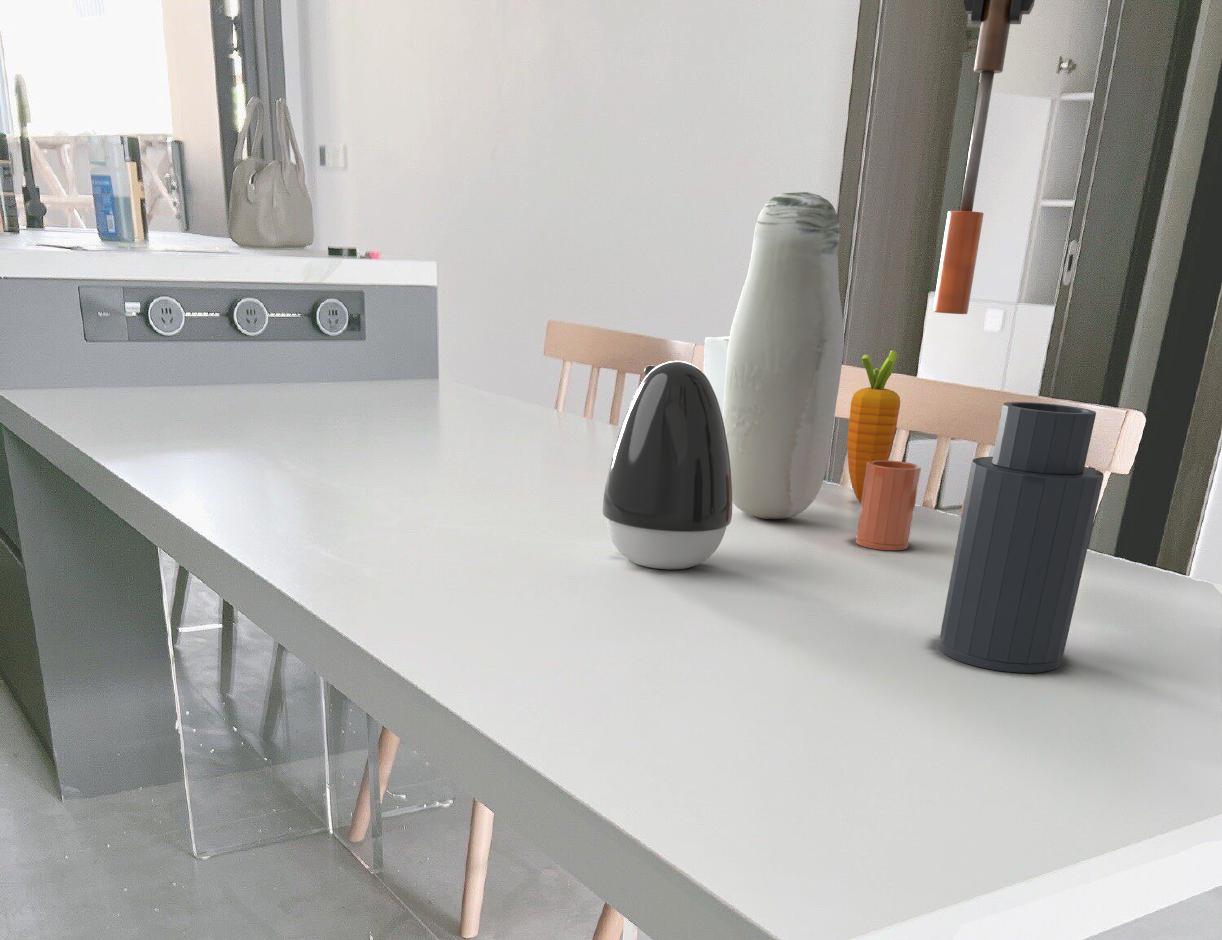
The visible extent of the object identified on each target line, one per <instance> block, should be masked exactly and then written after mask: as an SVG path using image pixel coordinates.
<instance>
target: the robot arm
mask: <svg viewBox="0 0 1222 940" xmlns="http://www.w3.org/2000/svg"><path fill="white" fill-rule="evenodd" d="M1035 1H1036V0H1012V3H1011V9H1010V16H1009V22H1010V25H1021V24H1022V20H1023V15H1030V14H1031V13H1032V10H1033V8H1034V6H1035ZM984 3H985V0H963V6H964V11H965V13H966V15H967V16H968V15H971V16H970V21H971V24H972V25H981V22H982V16H983V9H984Z"/></svg>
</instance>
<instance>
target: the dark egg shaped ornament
mask: <svg viewBox="0 0 1222 940" xmlns="http://www.w3.org/2000/svg"><path fill="white" fill-rule="evenodd" d="M643 375H644V379H643V380H642V382H641V384H640V385H639V387H638V388H637V390H636V392H635V393H634V395H633V397H632V398H631V399H632V400H631V401H630V404H629V405H628V408H627V410H626V413H625V415H624V419H623V420H622V424H621V427H620V430H619V433H618V435H617V438H616V441H615V445H614V448H613V452H612V455H611V459H610V463H609V468H608V472H607V477H606V481H605V487H604V493H603V498H602V511H601V512H602V515H603V516H604V517H605V520H606V528H607V531H608V535H609V537H610V539H611V542H612V544H613V545H614V547H615V548H616V550H617V551H618V552H619V553H620V554H621V556H623V557H624V558H625V559H627V560H628V561H630V562H632V563H634V564H635V565H638V566H642V567H644V568H645V567H646V568H650V569H658V570H685V569H689V568H692V567H695V566H698V565H700V564H702V563H704V562H705V561H707V560H708V559H709V558H710V557H711V556H712V555H713V554H715V552H716V551H717V549H718V548H719V546H720V544H722V543H721V542H722V541H723V539H724V537H725V533H726V529H727V527H728V526H729V525H730V524H731V523H732V517H733V502H732V479H731V466H730V457H729V450H728V444H727V438H726V432H725V427H724V422H723V417H722V414H721V410H720V406H719V403H718V400H717V397H716V395H715V392H714V390H713V388H712V386H711V384H710V382H709V380H708V378H707V377H706V375H705V374H704V373H703V370H701V369H700V368H698V367H697V366H696V365H693V364H692V363H689V362H687V361H682V360H674V361H673V360H672V361H667V362H665V363H662V364H659V365H657V366H655V365H654V364H653V365H652V364H651V365H650V364H649V365H648V366H646V367H645V368H644V371H643Z"/></svg>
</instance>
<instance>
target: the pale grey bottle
mask: <svg viewBox="0 0 1222 940" xmlns="http://www.w3.org/2000/svg"><path fill="white" fill-rule="evenodd" d="M753 233H754V234H753V239H752V248H751V254H750V261H749V264H748V270H747V275H746V278H745V281H744V284H743V287H742V290H741V293H740V296H739V300H738V302H737V307H736V309H735V313H734V316H733V321H732V324H731V327H730V331H729V335H728V336H729V343H728V350H727V360H726V374H725V388H724V406H723V422H724V427H725V432H726V438H727V444H728V450H729V457H730V466H731V479H732V505H733V506H735V507H736V508H737V509H739V511H741V512H743V513H746V514H748V515H749V516H752V517H755V518H759V519H766V520H782V519H787V518H792V517H796V516H798V515H800V514H801V513H803V512H805V511H806V510H807V509H808V508H809V507H810V506H811V505H812V504H813V502H814V501H815V500H816V498H817V496H818V495H819V492H820V490H821V488H822V485H823V483H824V480H825V477H826V473H827V469H828V463H829V459H830V458H829V457H830V450H831V444H832V435H833V430H834V423H835V422H834V421H835V417H836V415H835V414H836V409H837V401H838V395H839V389H840V383H841V382H840V381H841V374H842V367H843V359H844V348H845V329H844V318H843V310H842V301H841V295H840V279H839V277H840V275H839V255H838V254H839V245H840V236H841V226H840V219H839V216H838V214H837V211H836V208H835V207H834V205H833V203H832V202H830V200H828V199H826V198H825V197H822V196H821V195H819V194H815V193H813V192H808V191H803V192H801V191H799V192H782V193H779V194H777V195H775V196H773V197H771V198H770V199H769V200H768V201H767V202H766V203H765V205H764V206H763V207H762V209H761V210H760V213H759V214H758V217H757V220H756V223H755V227H754V232H753Z"/></svg>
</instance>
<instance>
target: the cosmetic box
mask: <svg viewBox="0 0 1222 940" xmlns="http://www.w3.org/2000/svg"><path fill="white" fill-rule="evenodd" d="M729 336H730V335H728V336H706V337H705V338H704V350H703V351H704V352H703V370H702V372H703V373H704V374H705V375H706V377H707V378H708V380H709V382H710V384H711V386H712V388H713V390H714V392H715V395H716V397H717V400H718V403H719V406H720V410H721V414H722V417H723V406H724V388H725V374H726V360H727V350H728V343H729Z"/></svg>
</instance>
